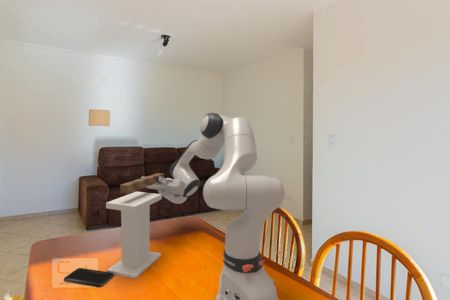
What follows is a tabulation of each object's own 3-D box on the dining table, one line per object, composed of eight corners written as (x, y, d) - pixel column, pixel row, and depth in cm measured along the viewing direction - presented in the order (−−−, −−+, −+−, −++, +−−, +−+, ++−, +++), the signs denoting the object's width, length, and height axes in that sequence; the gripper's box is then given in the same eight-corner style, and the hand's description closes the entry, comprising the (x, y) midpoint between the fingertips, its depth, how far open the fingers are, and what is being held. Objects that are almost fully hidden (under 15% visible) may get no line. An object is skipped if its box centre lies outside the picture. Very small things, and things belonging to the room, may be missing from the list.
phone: (101, 285, 89) (62, 278, 92) (101, 288, 89) (62, 282, 92) (115, 273, 97) (79, 267, 100) (115, 276, 97) (79, 270, 100)
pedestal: (136, 251, 115) (136, 191, 113) (161, 255, 112) (161, 194, 110) (106, 272, 98) (105, 202, 96) (135, 278, 95) (135, 206, 93)
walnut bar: (158, 179, 121) (158, 173, 121) (164, 180, 120) (164, 173, 120) (120, 193, 96) (120, 184, 96) (127, 193, 95) (127, 185, 95)
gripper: (150, 179, 131) (135, 169, 119) (188, 183, 125) (177, 172, 113) (146, 192, 129) (130, 182, 117) (185, 196, 123) (173, 187, 111)
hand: (154, 177), depth 115 cm, fingers closed on walnut bar, 3 cm apart
